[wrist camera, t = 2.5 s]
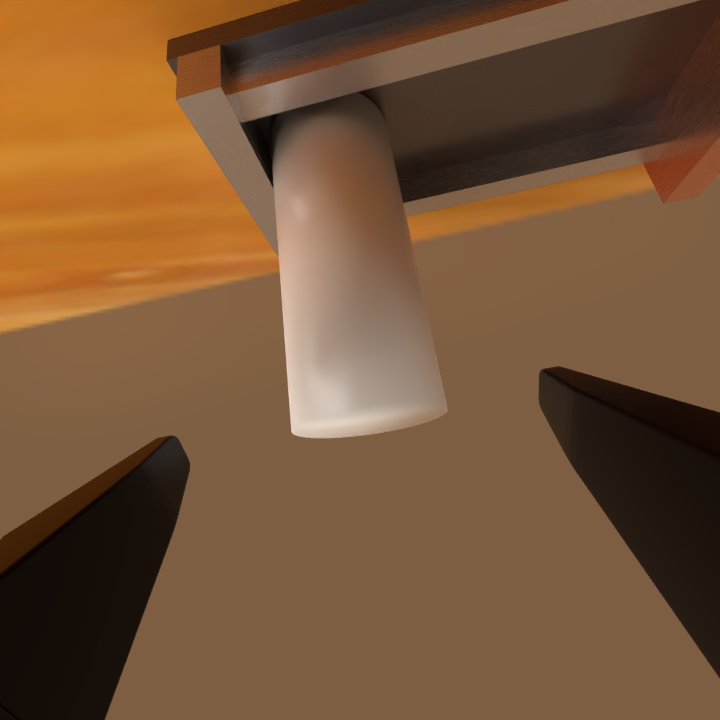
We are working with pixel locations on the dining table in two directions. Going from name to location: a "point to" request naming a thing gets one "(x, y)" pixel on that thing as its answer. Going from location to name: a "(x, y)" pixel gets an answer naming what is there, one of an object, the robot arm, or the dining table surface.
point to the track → (468, 91)
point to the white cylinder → (349, 276)
